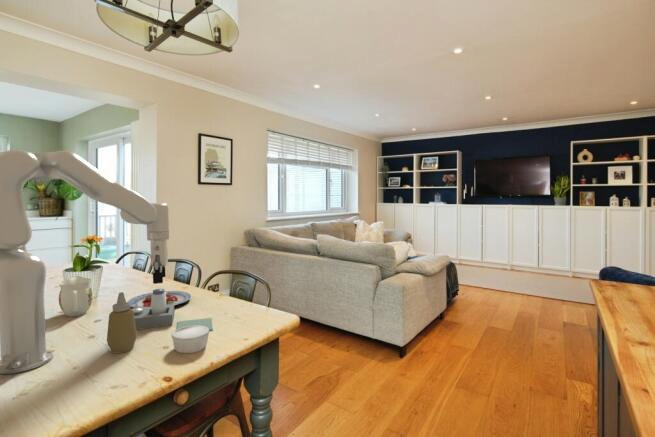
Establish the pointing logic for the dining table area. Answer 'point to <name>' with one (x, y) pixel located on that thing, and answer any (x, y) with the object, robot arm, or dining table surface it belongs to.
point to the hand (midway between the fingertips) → (159, 280)
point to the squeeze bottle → (121, 326)
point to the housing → (154, 318)
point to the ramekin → (190, 338)
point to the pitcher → (75, 296)
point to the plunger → (137, 310)
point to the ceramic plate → (171, 299)
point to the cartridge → (158, 301)
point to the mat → (196, 323)
